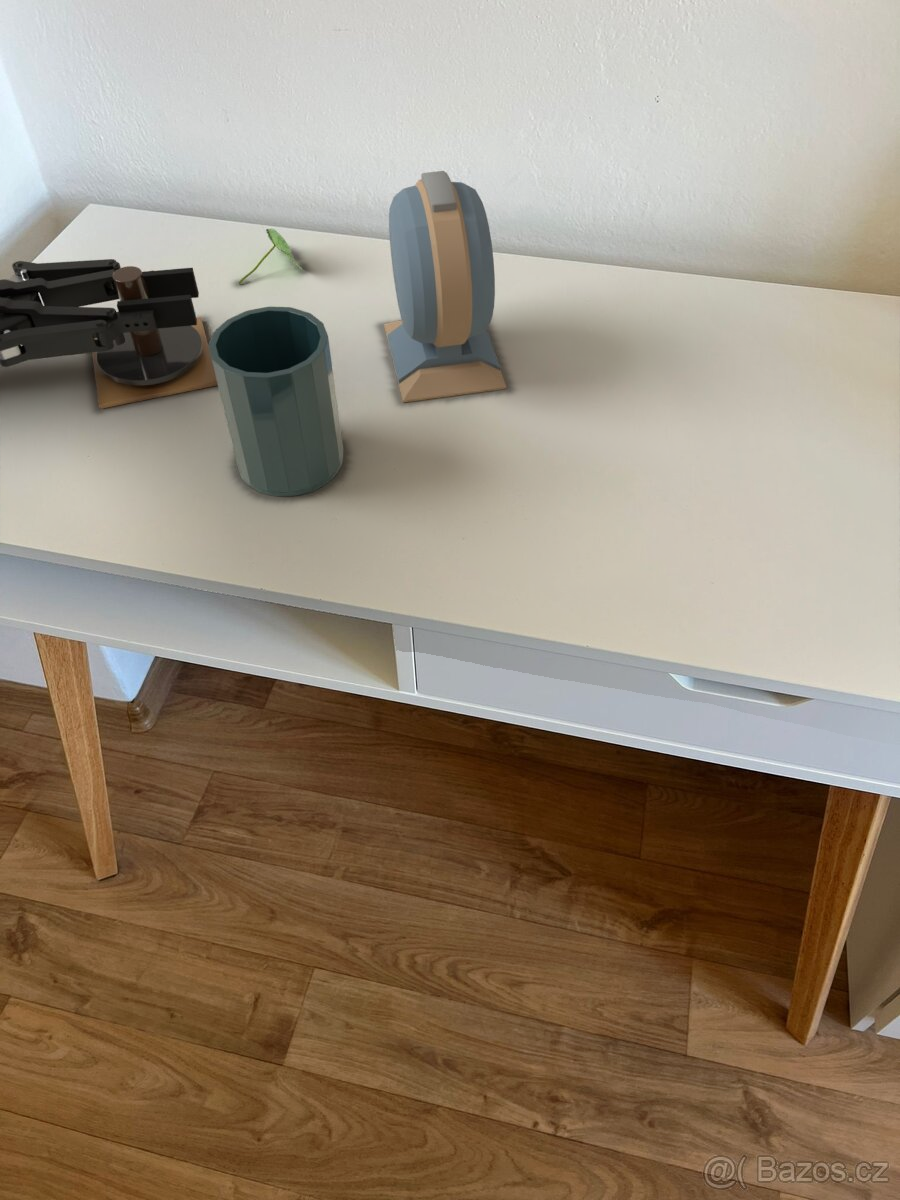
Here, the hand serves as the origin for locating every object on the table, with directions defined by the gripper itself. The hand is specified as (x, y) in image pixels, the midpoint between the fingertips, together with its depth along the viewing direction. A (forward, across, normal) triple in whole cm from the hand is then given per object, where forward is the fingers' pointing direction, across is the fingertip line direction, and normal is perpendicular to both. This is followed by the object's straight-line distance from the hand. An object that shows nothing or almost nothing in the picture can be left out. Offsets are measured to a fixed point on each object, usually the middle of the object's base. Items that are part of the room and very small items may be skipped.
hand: (194, 296), depth 93 cm
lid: (-5, 0, -6) cm, 8 cm away
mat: (-5, 0, -7) cm, 9 cm away
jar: (+8, +16, -7) cm, 19 cm away
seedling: (+6, -15, -7) cm, 18 cm away
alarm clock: (+23, +3, -7) cm, 24 cm away
